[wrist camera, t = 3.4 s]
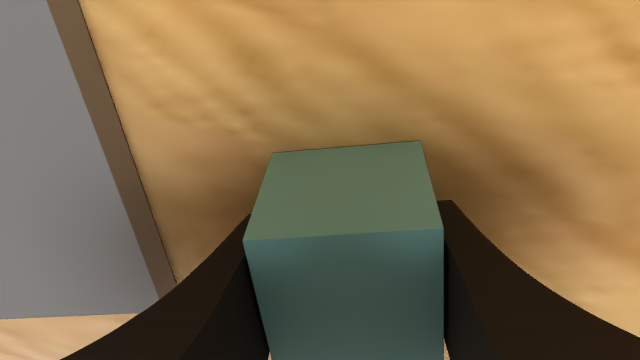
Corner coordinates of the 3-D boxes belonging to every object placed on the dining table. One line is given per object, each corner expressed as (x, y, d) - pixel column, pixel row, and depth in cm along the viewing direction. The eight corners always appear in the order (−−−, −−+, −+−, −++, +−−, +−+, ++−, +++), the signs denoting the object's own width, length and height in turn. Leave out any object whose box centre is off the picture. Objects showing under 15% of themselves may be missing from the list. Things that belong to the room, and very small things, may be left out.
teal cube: (423, 259, 15) (443, 368, 11) (293, 266, 15) (275, 373, 12) (420, 141, 13) (443, 228, 9) (272, 153, 13) (242, 240, 10)
